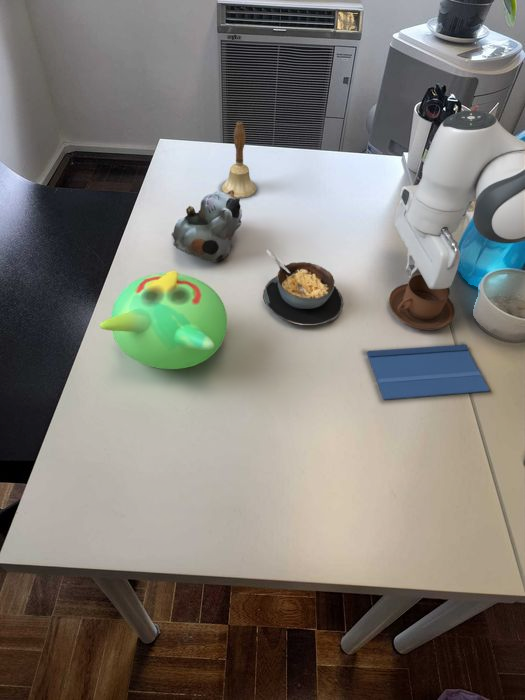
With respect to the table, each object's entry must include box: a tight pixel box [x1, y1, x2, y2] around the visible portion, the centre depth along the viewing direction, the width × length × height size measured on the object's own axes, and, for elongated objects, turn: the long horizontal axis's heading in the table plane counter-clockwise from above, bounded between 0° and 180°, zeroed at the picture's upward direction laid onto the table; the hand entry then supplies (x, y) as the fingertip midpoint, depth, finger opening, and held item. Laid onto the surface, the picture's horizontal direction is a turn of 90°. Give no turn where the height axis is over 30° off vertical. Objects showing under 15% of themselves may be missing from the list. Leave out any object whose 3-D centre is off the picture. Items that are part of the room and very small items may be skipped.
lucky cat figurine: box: [170, 190, 243, 263], centre depth 94 cm, size 15×12×14 cm
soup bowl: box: [262, 249, 344, 326], centre depth 86 cm, size 15×16×7 cm
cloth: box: [366, 344, 491, 401], centre depth 79 cm, size 18×10×1 cm, turn 97°
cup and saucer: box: [388, 274, 456, 331], centre depth 86 cm, size 12×12×6 cm
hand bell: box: [221, 120, 257, 199], centre depth 108 cm, size 8×8×16 cm
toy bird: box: [99, 270, 228, 370], centre depth 74 cm, size 18×17×15 cm
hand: (411, 274), depth 91 cm, fingers closed
